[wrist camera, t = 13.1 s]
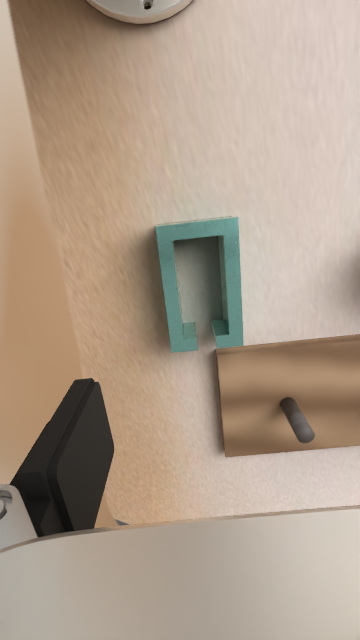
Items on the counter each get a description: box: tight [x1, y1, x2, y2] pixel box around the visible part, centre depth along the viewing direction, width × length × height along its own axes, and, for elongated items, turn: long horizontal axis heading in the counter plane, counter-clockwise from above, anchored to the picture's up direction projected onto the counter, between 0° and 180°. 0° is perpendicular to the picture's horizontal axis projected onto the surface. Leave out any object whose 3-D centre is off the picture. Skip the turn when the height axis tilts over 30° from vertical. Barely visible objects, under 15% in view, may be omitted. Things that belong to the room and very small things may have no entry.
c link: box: [155, 216, 243, 353], centre depth 28 cm, size 11×6×4 cm, turn 6°
